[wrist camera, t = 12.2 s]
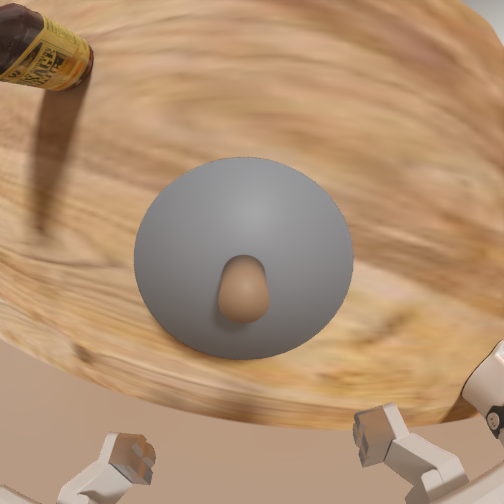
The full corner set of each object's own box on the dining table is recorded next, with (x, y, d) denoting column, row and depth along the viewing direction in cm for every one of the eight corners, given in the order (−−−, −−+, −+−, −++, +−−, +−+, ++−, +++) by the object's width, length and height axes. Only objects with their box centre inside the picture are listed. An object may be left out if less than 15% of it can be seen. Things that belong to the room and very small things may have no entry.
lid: (340, 143, 19) (368, 144, 15) (349, 335, 26) (366, 370, 21) (114, 183, 20) (82, 197, 15) (172, 360, 26) (162, 398, 22)
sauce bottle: (54, 102, 23) (-96, 102, 4) (48, 56, 20) (-85, 30, 2) (103, 75, 22) (-49, 33, 4) (96, 29, 20) (-31, -37, 2)
